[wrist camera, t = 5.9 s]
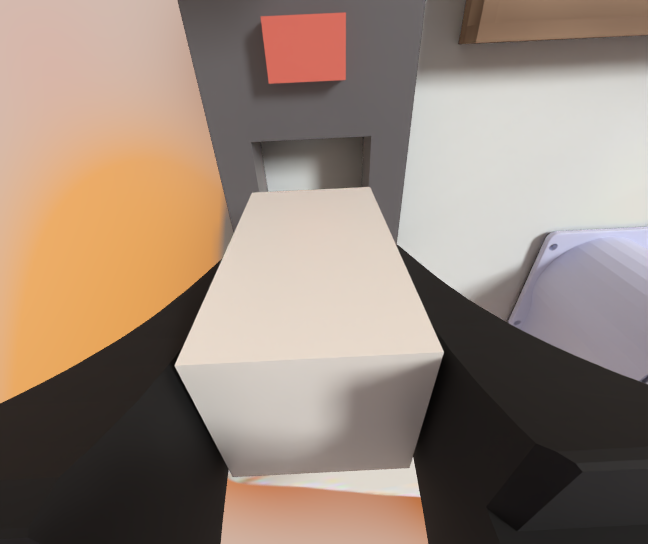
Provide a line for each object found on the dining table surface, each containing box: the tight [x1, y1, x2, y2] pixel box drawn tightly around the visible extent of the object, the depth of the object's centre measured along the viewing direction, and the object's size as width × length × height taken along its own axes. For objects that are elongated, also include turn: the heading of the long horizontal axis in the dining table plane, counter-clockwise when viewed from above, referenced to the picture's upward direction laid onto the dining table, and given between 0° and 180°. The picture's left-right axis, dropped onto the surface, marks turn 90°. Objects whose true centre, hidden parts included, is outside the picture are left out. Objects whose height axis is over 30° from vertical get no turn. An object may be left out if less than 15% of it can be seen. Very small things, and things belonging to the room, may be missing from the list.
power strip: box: [178, 0, 426, 244], centre depth 12 cm, size 24×9×3 cm, turn 2°
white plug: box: [175, 187, 444, 477], centre depth 8 cm, size 4×4×7 cm
